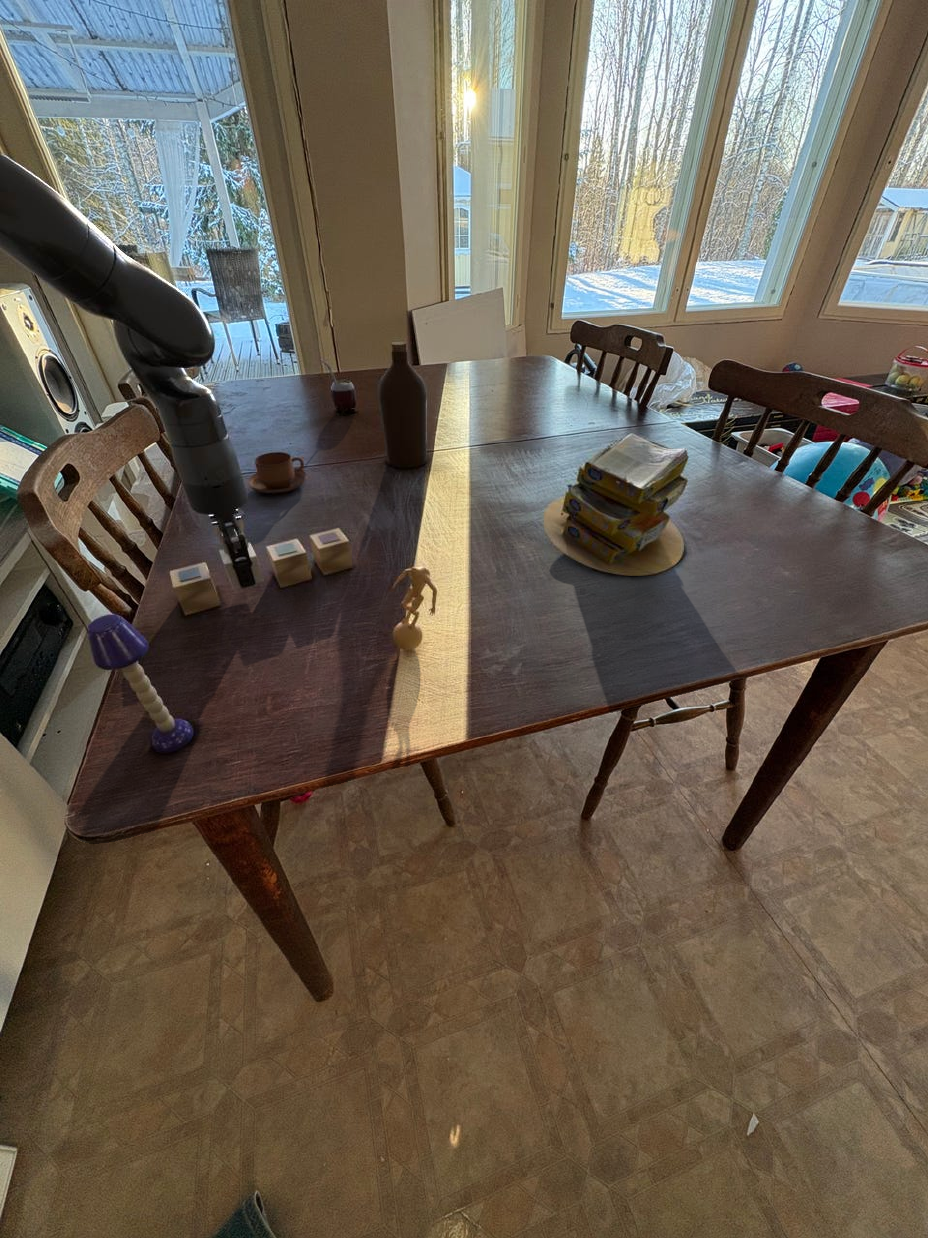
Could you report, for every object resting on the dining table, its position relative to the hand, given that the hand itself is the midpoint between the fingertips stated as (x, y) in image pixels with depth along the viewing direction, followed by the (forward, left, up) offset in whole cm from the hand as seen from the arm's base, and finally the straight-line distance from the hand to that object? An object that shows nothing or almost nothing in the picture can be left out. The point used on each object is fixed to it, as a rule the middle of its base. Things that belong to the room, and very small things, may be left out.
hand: (244, 576), depth 79 cm
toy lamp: (-14, -26, -2) cm, 29 cm away
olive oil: (+44, +35, -2) cm, 56 cm away
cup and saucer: (+14, +36, -2) cm, 39 cm away
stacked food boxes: (+60, -17, -2) cm, 62 cm away
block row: (+3, 0, -2) cm, 4 cm away
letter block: (0, 0, 0) cm, 0 cm away
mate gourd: (+44, +79, -2) cm, 90 cm away
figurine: (+17, -25, -2) cm, 30 cm away
